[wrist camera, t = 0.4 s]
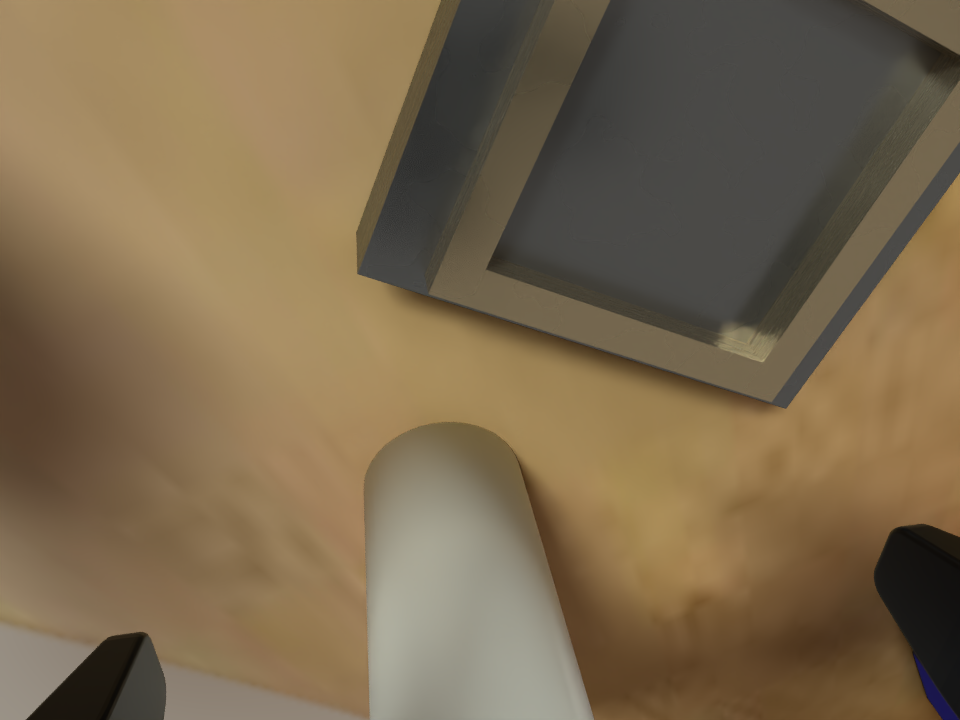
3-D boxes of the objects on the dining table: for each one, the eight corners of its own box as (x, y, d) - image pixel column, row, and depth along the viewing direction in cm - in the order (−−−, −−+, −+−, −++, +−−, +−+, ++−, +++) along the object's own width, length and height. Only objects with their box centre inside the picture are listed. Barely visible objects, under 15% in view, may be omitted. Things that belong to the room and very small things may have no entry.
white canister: (342, 526, 25) (337, 1081, 14) (396, 404, 23) (446, 947, 11) (483, 554, 27) (587, 1069, 15) (546, 443, 25) (726, 950, 13)
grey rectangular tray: (356, 232, 20) (358, 293, 17) (534, -256, 15) (580, -289, 12) (748, 363, 24) (803, 429, 21) (985, 15, 19) (1100, 39, 16)
